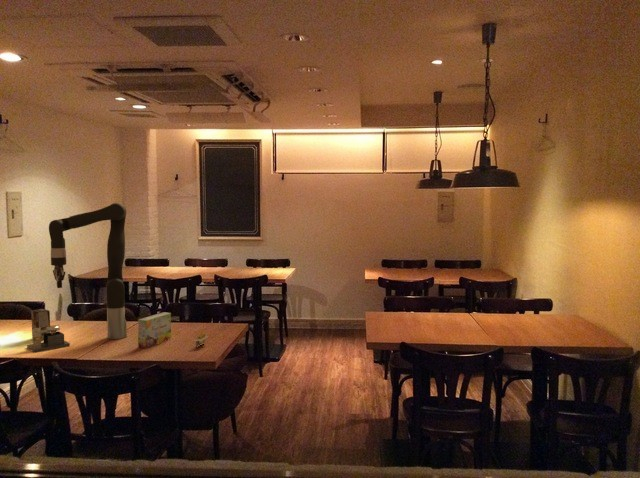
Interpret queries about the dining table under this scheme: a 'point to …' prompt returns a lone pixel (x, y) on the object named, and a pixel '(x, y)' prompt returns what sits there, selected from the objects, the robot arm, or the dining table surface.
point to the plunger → (50, 329)
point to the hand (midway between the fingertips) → (59, 287)
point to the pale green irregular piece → (200, 339)
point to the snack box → (154, 329)
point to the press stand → (47, 341)
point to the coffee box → (40, 320)
